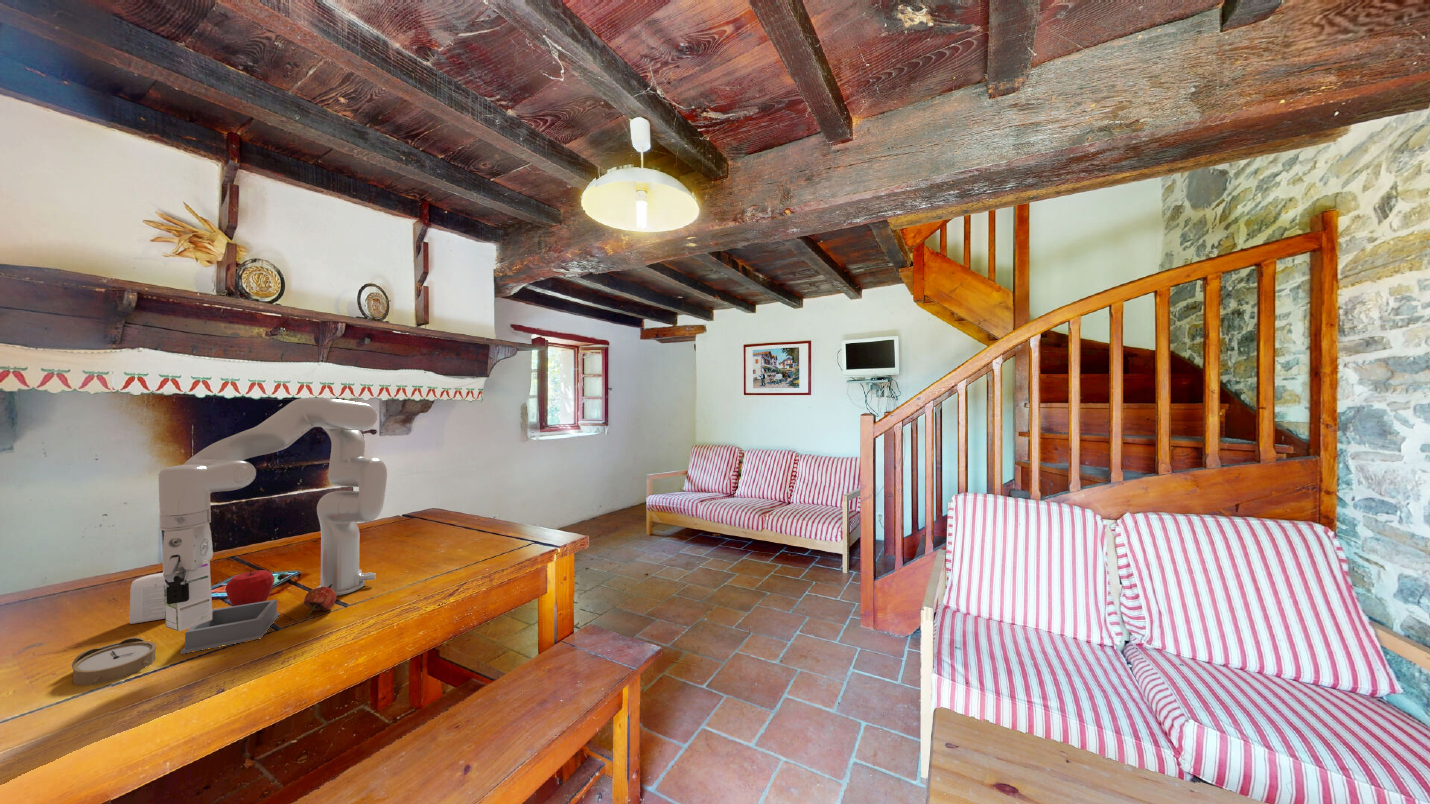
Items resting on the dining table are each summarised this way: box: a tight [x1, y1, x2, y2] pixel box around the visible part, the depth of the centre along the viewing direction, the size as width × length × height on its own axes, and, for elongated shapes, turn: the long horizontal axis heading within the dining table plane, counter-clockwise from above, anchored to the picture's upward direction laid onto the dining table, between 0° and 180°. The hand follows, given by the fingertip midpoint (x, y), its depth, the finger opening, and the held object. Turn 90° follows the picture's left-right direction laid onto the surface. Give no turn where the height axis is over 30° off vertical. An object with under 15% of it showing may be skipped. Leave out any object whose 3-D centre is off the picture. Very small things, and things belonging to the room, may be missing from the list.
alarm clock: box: [71, 636, 157, 687], centre depth 102 cm, size 11×5×15 cm
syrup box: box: [162, 560, 213, 632], centre depth 103 cm, size 6×6×14 cm
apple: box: [224, 569, 275, 606], centre depth 131 cm, size 10×10×11 cm
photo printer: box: [129, 572, 165, 625], centre depth 124 cm, size 10×4×12 cm, turn 123°
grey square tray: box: [180, 599, 281, 655], centre depth 116 cm, size 14×14×5 cm
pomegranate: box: [303, 584, 337, 616], centre depth 129 cm, size 7×7×10 cm
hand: (188, 593), depth 103 cm, fingers closed on syrup box, 8 cm apart
